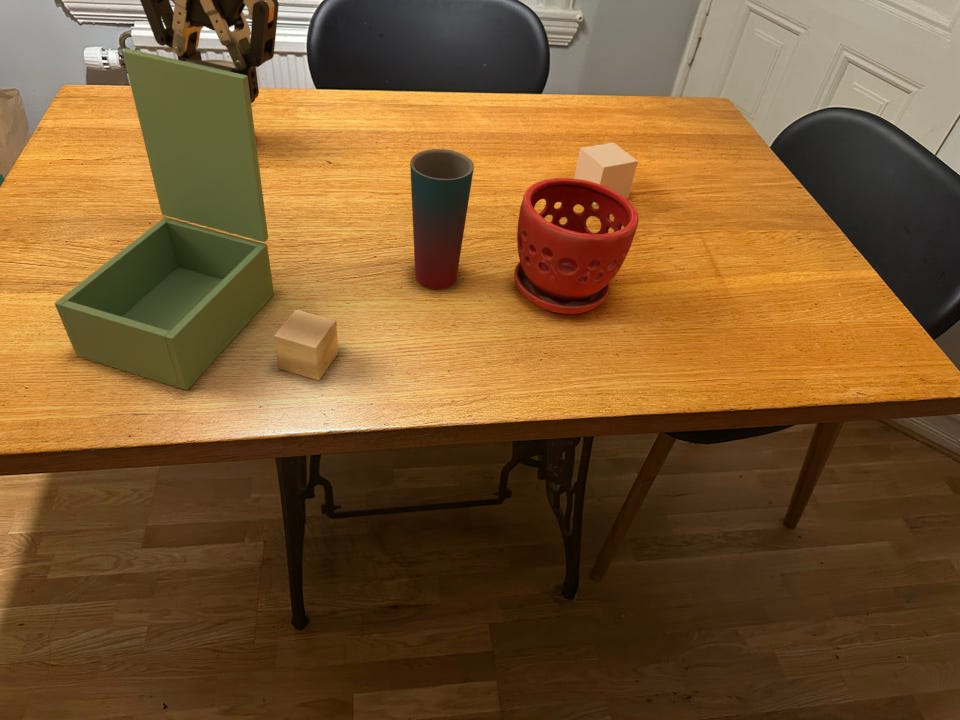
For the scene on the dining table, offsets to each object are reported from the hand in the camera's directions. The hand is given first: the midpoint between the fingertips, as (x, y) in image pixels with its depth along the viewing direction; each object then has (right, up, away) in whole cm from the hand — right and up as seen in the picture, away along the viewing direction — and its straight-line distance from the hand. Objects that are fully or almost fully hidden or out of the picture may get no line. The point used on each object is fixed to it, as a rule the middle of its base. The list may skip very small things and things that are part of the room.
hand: (222, 96), depth 71 cm
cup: (+21, -17, +14) cm, 30 cm away
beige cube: (+44, -2, +33) cm, 55 cm away
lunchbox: (-6, -23, +4) cm, 24 cm away
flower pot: (+36, -18, +15) cm, 43 cm away
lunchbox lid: (-2, -6, -1) cm, 7 cm away
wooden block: (+8, -27, +2) cm, 28 cm away
